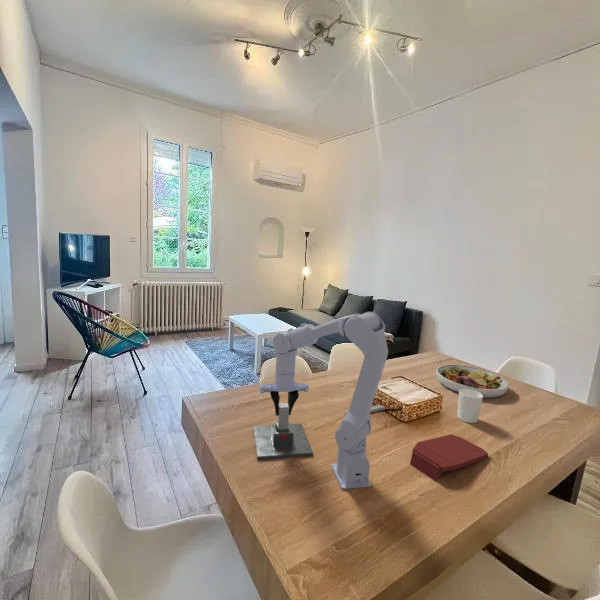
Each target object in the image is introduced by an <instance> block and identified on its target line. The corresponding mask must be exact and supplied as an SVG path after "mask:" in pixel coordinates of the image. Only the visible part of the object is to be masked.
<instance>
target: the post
mask: <svg viewBox="0 0 600 600" xmlns="http://www.w3.org/2000/svg"><path fill="white" fill-rule="evenodd" d="M289 416H290V415H289V405H288V402H279V416H276V423H277V424H276V426H277V431H278V432H282V431H288V423H289Z"/></svg>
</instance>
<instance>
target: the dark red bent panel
mask: <svg viewBox="0 0 600 600" xmlns="http://www.w3.org/2000/svg"><path fill="white" fill-rule="evenodd" d="M411 453H412V454H411V458H410V462H409V465H410V466H412V467H413V468H415V469H416V470H418V471H419V472H421V473H422V474H424V475H425V476H427V477H428V478H430V479H432V480H433V481H434V482H436V481H439V480H440V479H441V474H442V473H444V472H449V471H455V470H458V469H461V468H463V467H466V466H469V465H472V464H475V463H478V462H479V461H480V462H481V461H483V460H485V459H487V458H488V457H489V453H488V452H487V451H486V450H484V448H482V447H481V446H479V445H476V444H474V443H472V442H470V441H468V440H466V439H465V438H463V437H461V436H457V435H454V434H446V435H443V436H438V437H435V438H430V439H426V440H422V441H418V442H416V444H415V445H414V447H413V448H412V452H411Z"/></svg>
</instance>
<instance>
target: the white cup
mask: <svg viewBox="0 0 600 600" xmlns="http://www.w3.org/2000/svg"><path fill="white" fill-rule="evenodd" d="M482 404H483V395H482V394H481V393H479V392H477V391H474V390H470V389H461V390H459V392H458V399H457V418H458V419H459V420H460V421H463V422H465V423H468V424H475V423H477V422H478V421H479V420H478V419H479V416H480V411H481V409H482Z"/></svg>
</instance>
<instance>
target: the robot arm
mask: <svg viewBox="0 0 600 600" xmlns="http://www.w3.org/2000/svg"><path fill="white" fill-rule="evenodd" d="M385 330H386V324H385V323H384V321H383V320H382V319H381V317H380V316H379V315H378V314H377V313H376V312H373V311H366V312H363V313H362V314H361V313H356V314H350V315H344V316H341V317H338V318H335V319H332V320H330V321H327V322H324V323H322V324H319V325H316V326H315V325H314V324H311V323H308V324H307V323H306V322H304V323H301V324H300V325H299V326H298V327H296V328H292V327H291V328H287V331H284V332H281V333H280V332H279V333H277V334H276V335H274V337H273V339H272V346H273V349H274V350H275V351H276V357H275V358H276V359H275V374H274V375H275V376H274V377H275V379H274V382H271V383H270V382H269V383H265V384H259V393H260V394H264V393H269V394H270V397H271V400H272V402H273V404H274V409H275V416H276V417H277V416H279V403H280V393H287V403H288V405H289V416H291V414H292V410H293V407H294V406H295V403H296V402H297V401H298V399H299V397H300V395H299V394H300V393H299V392H305V393H309V389H310V386H309V384H308V383H307V382H306V383H304V382H295V375H296V374H295V373H296V361H297V360H296V359H297V358H296V357H297V352H298V349H301V348H305V347H309V346H312V345H315V344H316V343H317V342H318V340H319V338H321V337H327V336H328V335H329V336H330V335H333V334H337V333H339V334H340V335H341V336H342V337H345V336H346V337H347V338H348V340H349V341H350V342H351V343H352V344H353V345H354V346H356V347H357V348H358V349H359V350H360V351H361V353H362V354H363V355H364V358H363V361H362V363H361V364H362V365H361V369H360V371H359V374H358V376H357V378H358V379H357V380H356V384H355V385H356V386H355V388H354V391H353V395H352V398H351V401H350V405H349V407H348V411H346V412H347V414H346V416H345V417H344V418H343V419H342V422H341V423H340V425H339V426H338V427H337V428H336V429H335V432H334V439H335V442H336V444H337V446H338V447H337V458H336V463H332V464H331V468H332V471H333V472H334V475H335V477H336V479H337V482H338V483H339V486H340V488H341V490H348V489H349V490H350V489H357V488H358V489H359V488H370V487H371V486H372V483H371V482H370V481H371V480H369V477H370V468H371V465H370V462H369V459H368V457H367V451H366V450H367V436H368V435H370V433H371V430H372V425H371V418H372V414H371V413H370V410H371V406H373V402H374V399H375V396H376V393H377V390H378V387H379V383H380V381H381V378H382V374H383V372H384V368H385V364H386V362H387V358H388V356H389V348H388V347H389V346H388V343H387V338H386V333H385Z"/></svg>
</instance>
